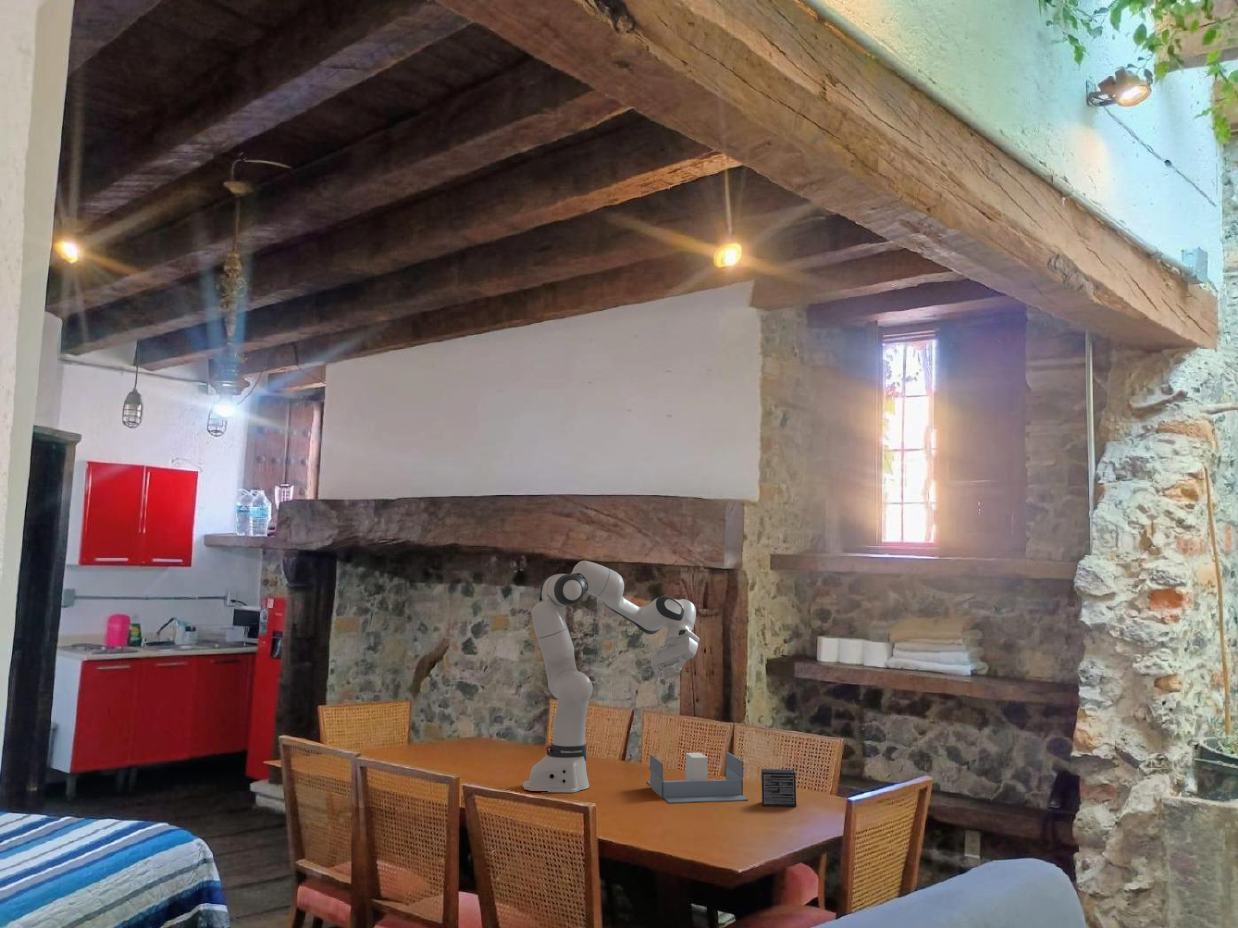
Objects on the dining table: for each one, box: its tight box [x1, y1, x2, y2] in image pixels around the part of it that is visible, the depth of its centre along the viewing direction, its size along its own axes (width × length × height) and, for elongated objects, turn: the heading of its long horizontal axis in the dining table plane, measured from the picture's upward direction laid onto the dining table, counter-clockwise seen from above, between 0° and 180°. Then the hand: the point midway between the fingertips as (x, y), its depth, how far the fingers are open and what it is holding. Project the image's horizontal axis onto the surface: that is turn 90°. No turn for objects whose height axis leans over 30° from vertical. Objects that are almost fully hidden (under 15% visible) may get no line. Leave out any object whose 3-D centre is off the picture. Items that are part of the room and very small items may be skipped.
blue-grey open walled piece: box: [646, 751, 749, 804], centre depth 322 cm, size 28×32×11 cm
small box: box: [760, 768, 798, 808], centre depth 303 cm, size 11×6×10 cm, turn 84°
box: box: [685, 752, 709, 781], centre depth 320 cm, size 5×9×12 cm, turn 11°
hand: (668, 673), depth 334 cm, fingers open, 8 cm apart
